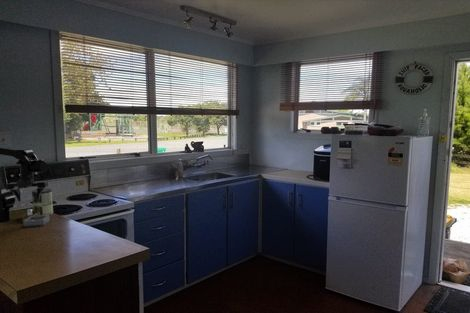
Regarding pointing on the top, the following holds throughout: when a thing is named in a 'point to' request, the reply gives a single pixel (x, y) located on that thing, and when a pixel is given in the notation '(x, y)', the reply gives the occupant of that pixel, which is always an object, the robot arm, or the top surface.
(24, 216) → the block
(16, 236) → the top surface
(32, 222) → the pin tray
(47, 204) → the coffee can
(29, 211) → the pin
